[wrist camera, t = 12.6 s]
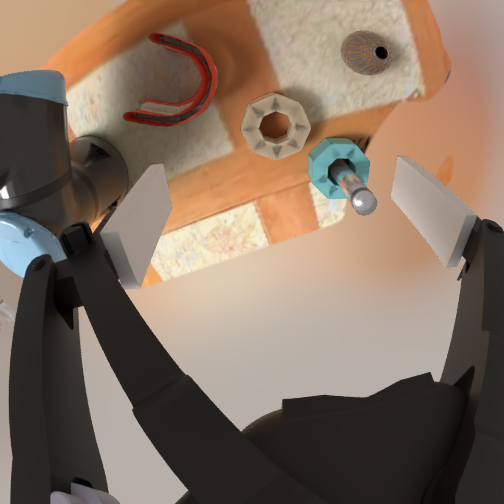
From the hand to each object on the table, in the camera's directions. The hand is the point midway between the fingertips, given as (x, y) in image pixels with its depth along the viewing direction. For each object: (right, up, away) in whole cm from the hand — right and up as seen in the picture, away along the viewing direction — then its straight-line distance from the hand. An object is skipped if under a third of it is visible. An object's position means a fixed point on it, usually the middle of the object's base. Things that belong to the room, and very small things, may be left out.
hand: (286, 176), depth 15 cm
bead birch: (+1, +15, +24) cm, 29 cm away
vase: (+14, +26, +17) cm, 34 cm away
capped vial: (+12, +10, +29) cm, 33 cm away
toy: (-12, +21, +20) cm, 31 cm away
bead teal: (+12, +10, +29) cm, 33 cm away
